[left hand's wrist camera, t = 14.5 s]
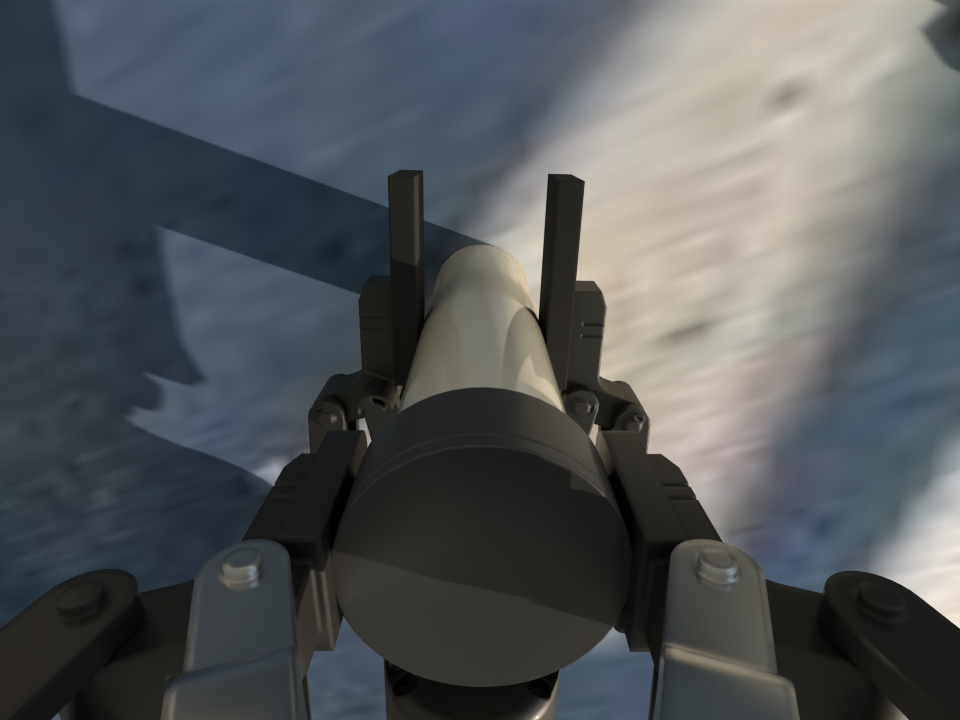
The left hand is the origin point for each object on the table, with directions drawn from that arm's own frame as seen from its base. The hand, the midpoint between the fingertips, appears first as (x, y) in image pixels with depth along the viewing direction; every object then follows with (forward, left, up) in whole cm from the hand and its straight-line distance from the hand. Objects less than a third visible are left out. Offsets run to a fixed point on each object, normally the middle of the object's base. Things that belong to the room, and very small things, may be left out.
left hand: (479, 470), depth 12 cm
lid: (0, 0, +3) cm, 3 cm away
